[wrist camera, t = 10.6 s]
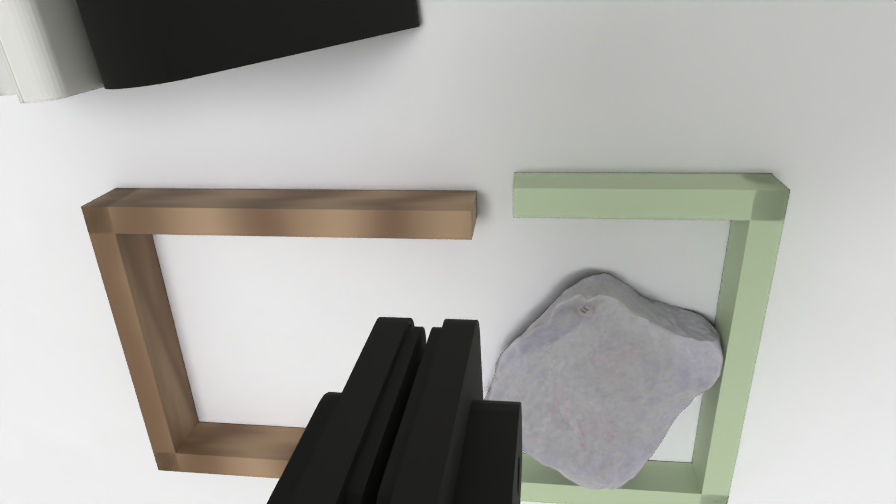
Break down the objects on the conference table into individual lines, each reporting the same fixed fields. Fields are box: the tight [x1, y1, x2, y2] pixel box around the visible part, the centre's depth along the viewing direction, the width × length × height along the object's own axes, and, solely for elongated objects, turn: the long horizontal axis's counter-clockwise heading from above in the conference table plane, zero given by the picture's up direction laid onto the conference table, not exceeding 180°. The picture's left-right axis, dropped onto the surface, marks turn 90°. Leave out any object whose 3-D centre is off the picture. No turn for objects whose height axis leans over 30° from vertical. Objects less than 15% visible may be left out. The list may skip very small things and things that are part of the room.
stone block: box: [484, 273, 723, 490], centre depth 35 cm, size 12×5×10 cm
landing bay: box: [513, 173, 790, 504], centre depth 34 cm, size 12×20×2 cm, turn 2°
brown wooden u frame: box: [81, 188, 477, 478], centre depth 36 cm, size 20×18×3 cm
